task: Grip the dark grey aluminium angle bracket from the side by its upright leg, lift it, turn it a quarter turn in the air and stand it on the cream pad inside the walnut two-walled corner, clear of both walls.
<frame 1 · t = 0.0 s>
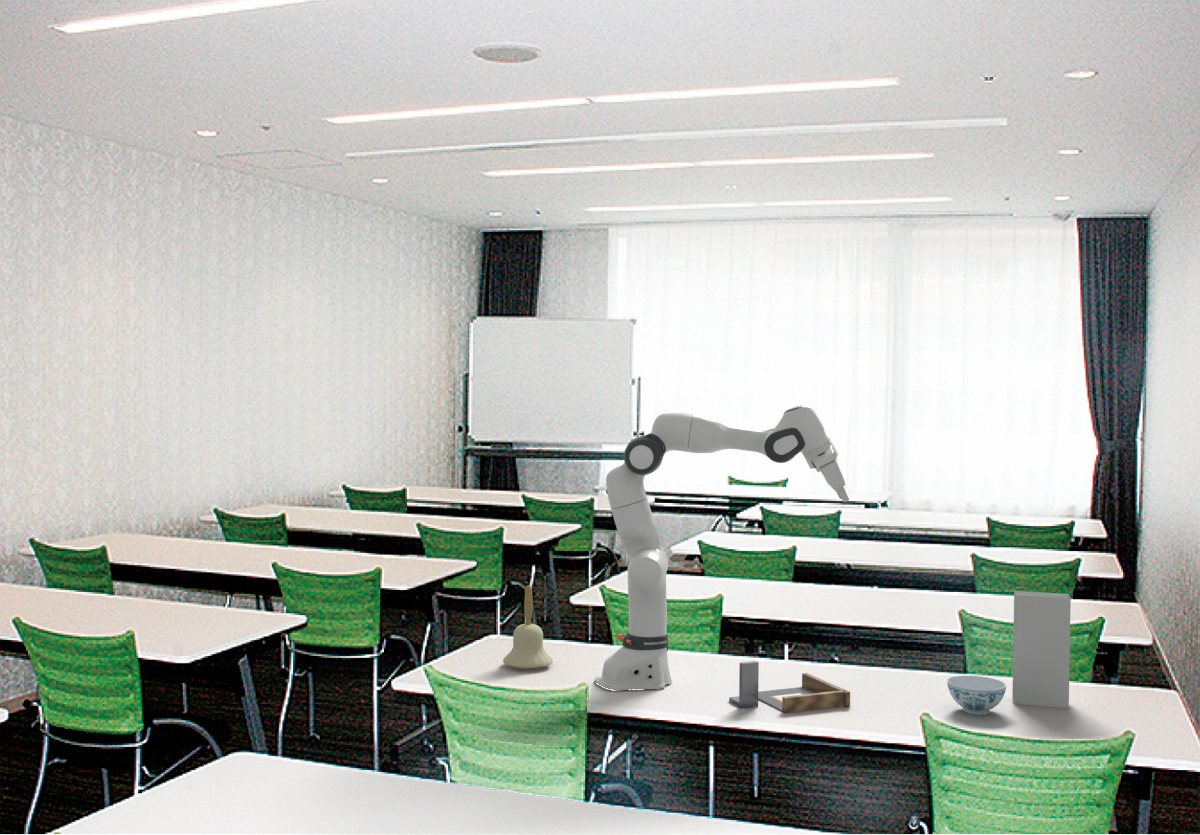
hand: (844, 499, 317), 54 cm above the table, tool tilted 30°, fingers open, 8 cm apart
bracket: (748, 706, 300), on the table
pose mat: (792, 699, 307), on the table
handbell: (527, 667, 342), on the table
tall grey block: (1040, 704, 306), on the table
chinaware: (976, 712, 297), on the table
brown wooden corner frame: (792, 699, 307), resting in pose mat
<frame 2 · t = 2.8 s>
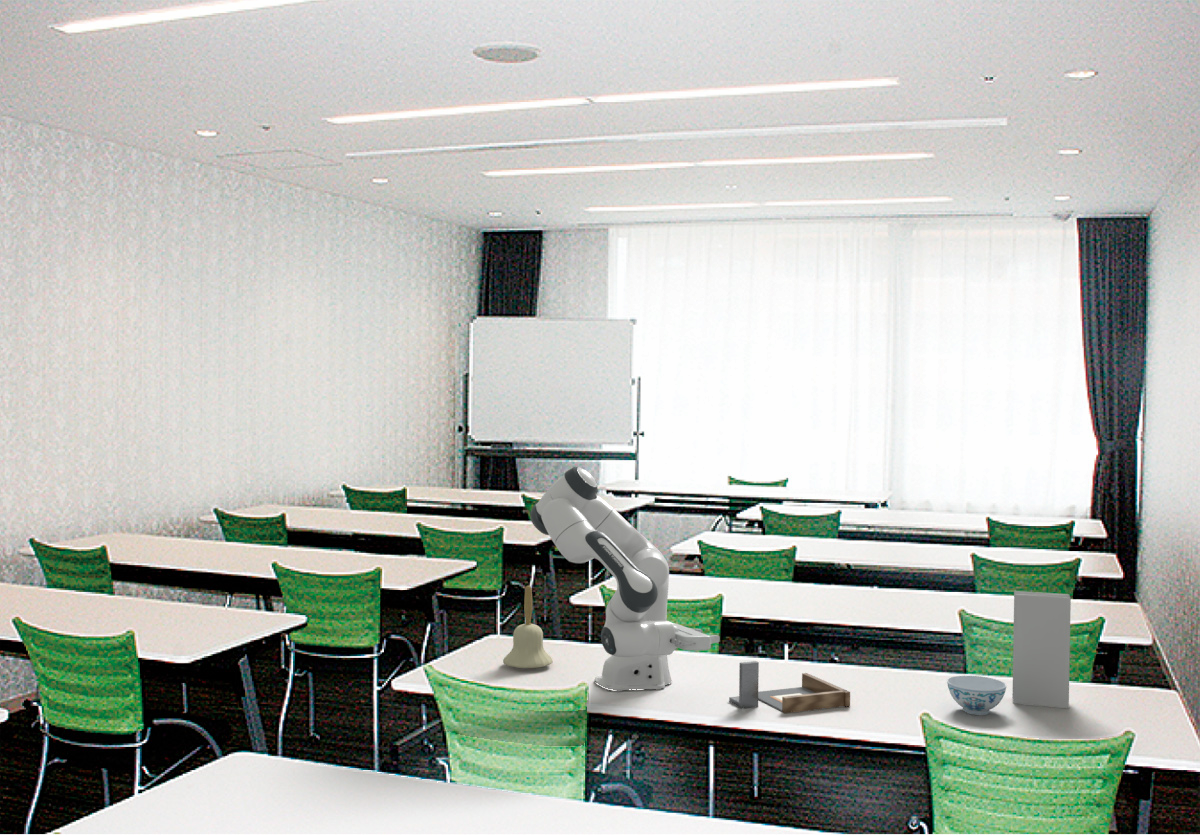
hand: (709, 635, 294), 20 cm above the table, tool horizontal, fingers open, 8 cm apart
nothing on the table moved.
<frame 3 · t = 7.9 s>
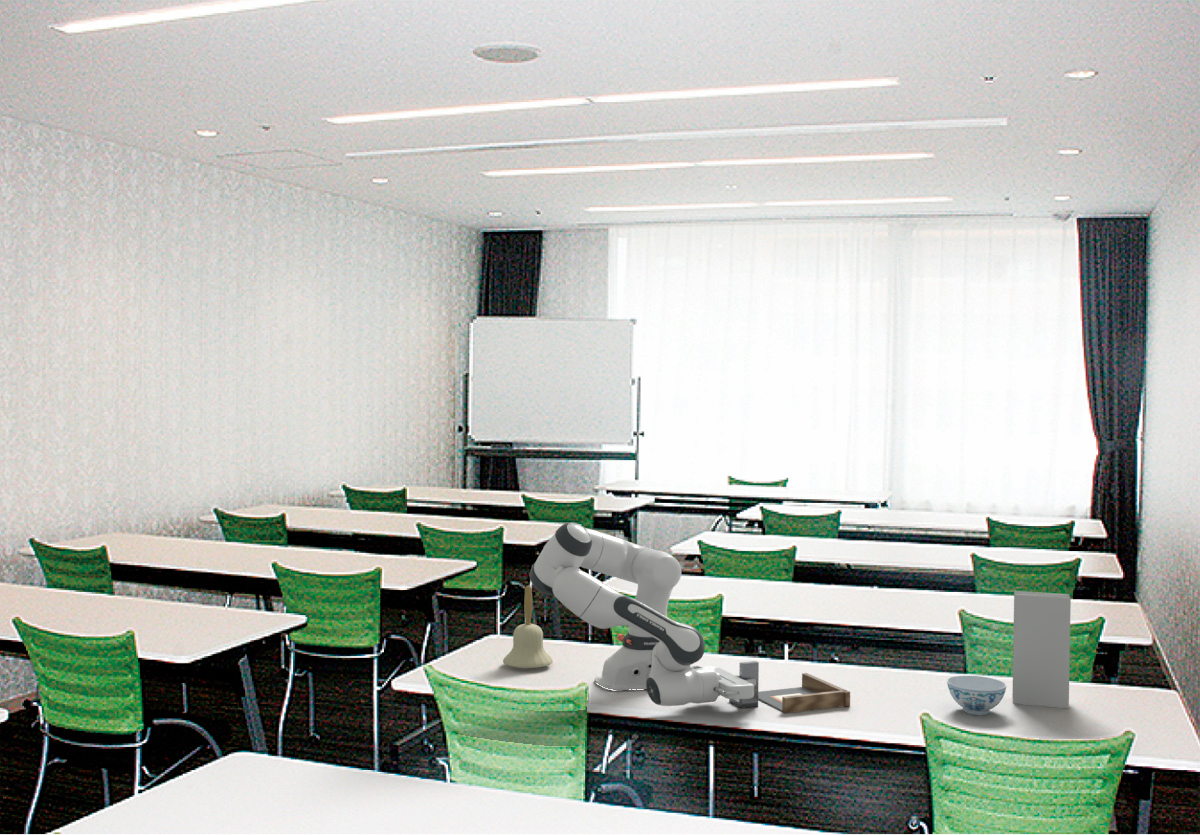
hand: (751, 680, 300), 7 cm above the table, tool horizontal, fingers closed on bracket
bracket: (748, 706, 300), on the table, touching gripper
everything else where it was.
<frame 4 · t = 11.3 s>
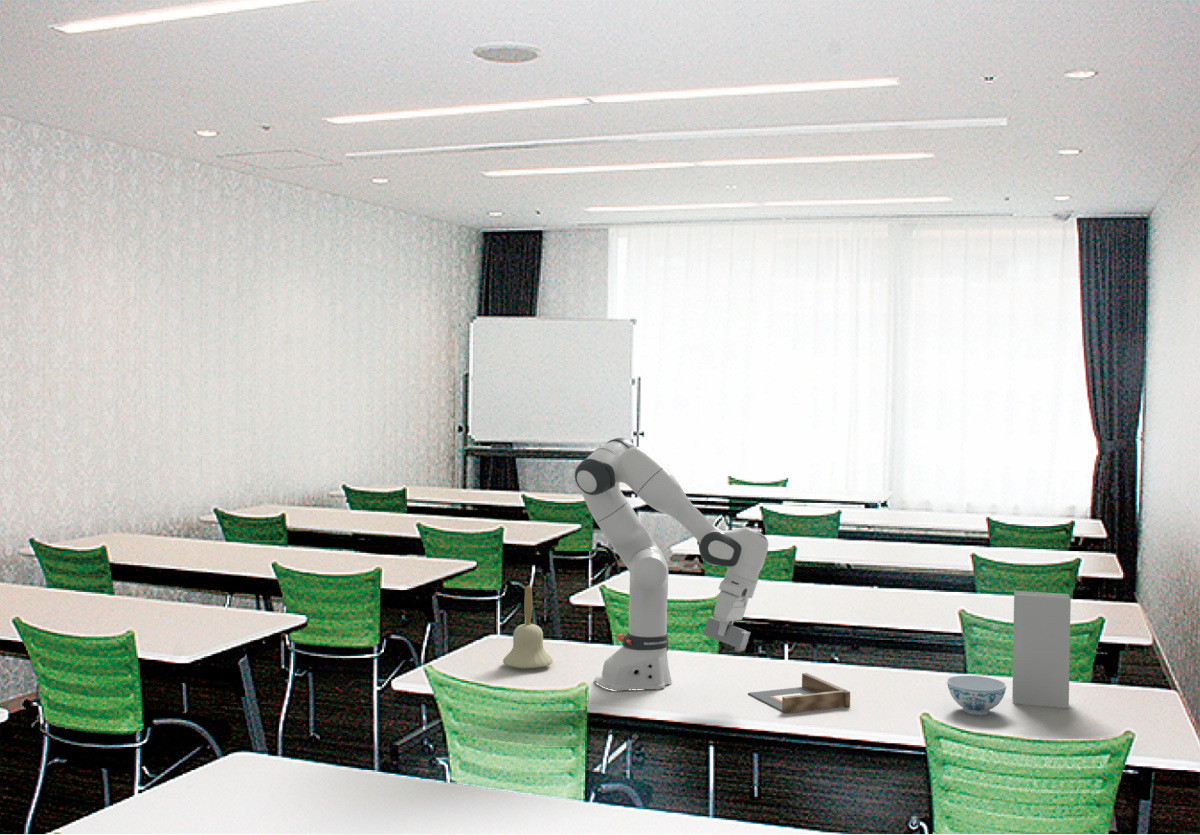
hand: (722, 635, 304), 18 cm above the table, tool tilted 20°, fingers closed on bracket
bracket: (747, 641, 301), point 17 cm above the table, tilted 74°, touching gripper
everything else where it was.
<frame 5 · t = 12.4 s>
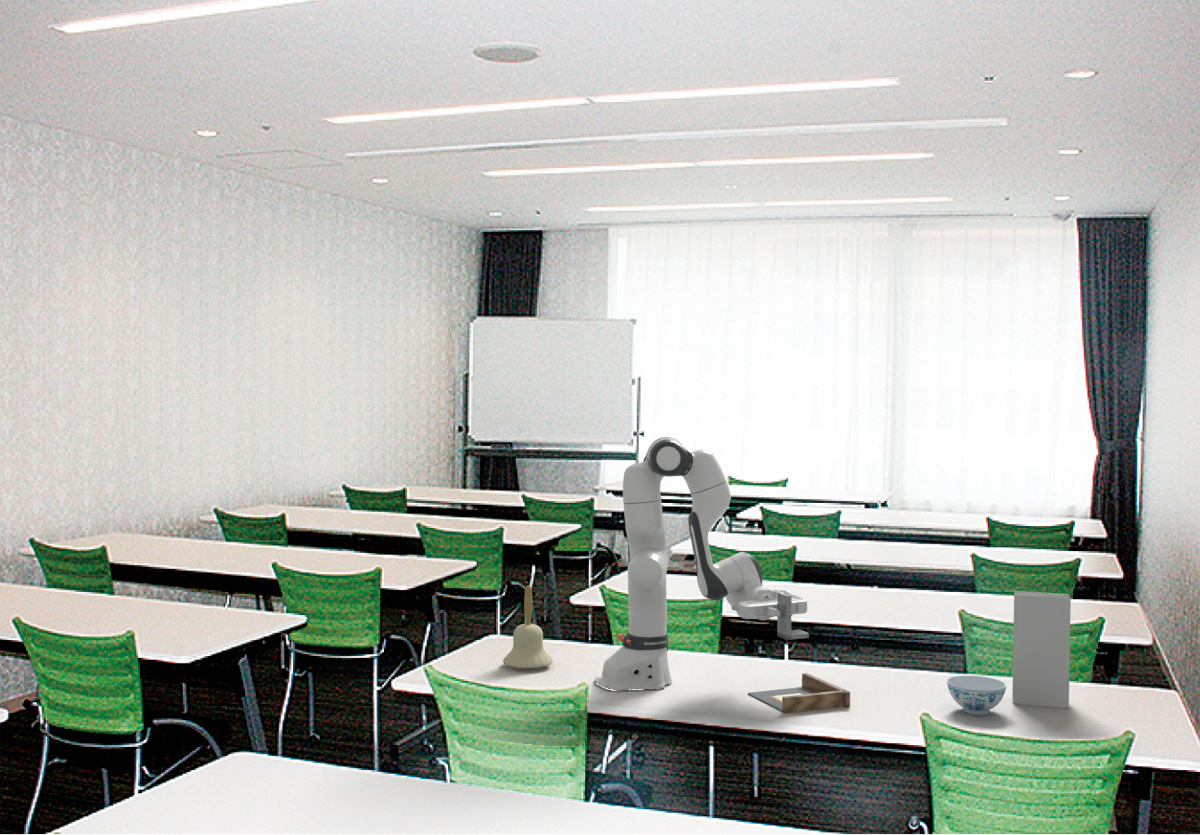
hand: (785, 613, 304), 24 cm above the table, tool horizontal, fingers closed on bracket
bracket: (784, 637, 305), point 17 cm above the table, touching gripper
everything else where it was.
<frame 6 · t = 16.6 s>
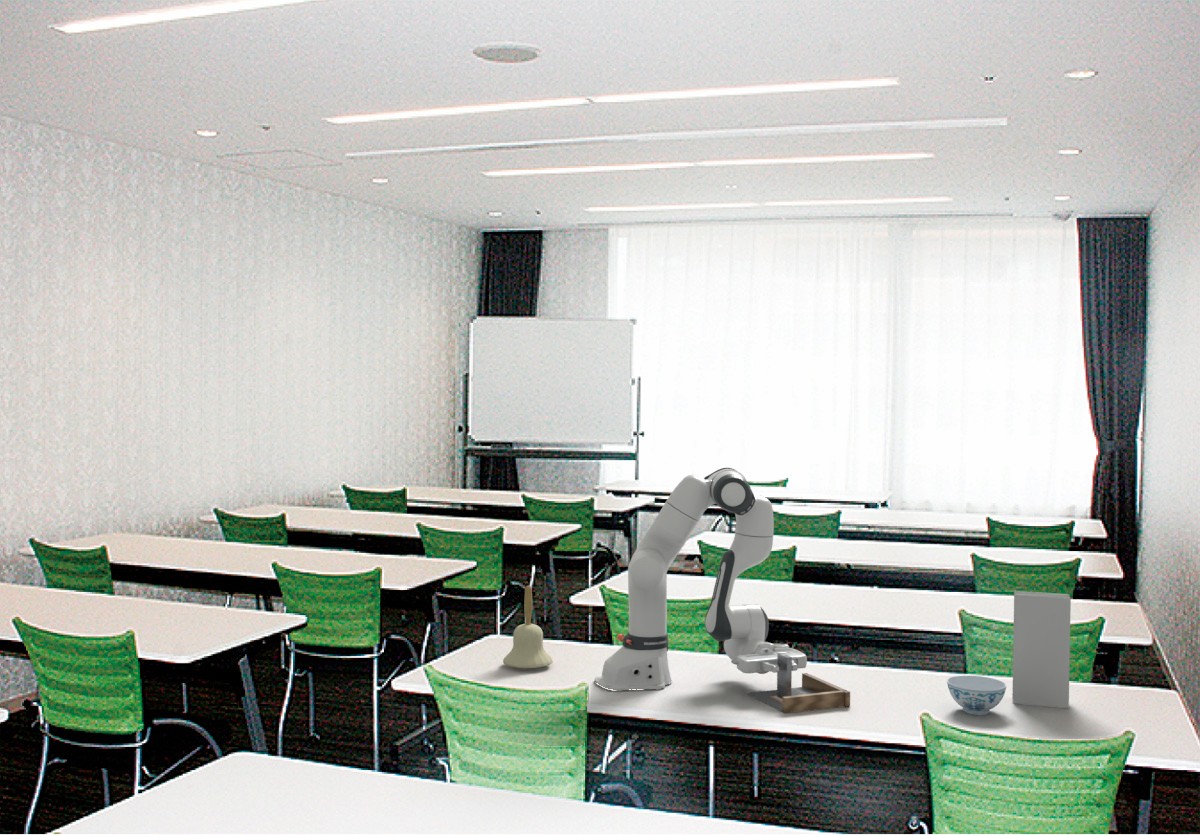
hand: (786, 668, 305), 9 cm above the table, tool horizontal, fingers open, 4 cm apart
bracket: (784, 698, 306), resting on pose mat
everything else where it was.
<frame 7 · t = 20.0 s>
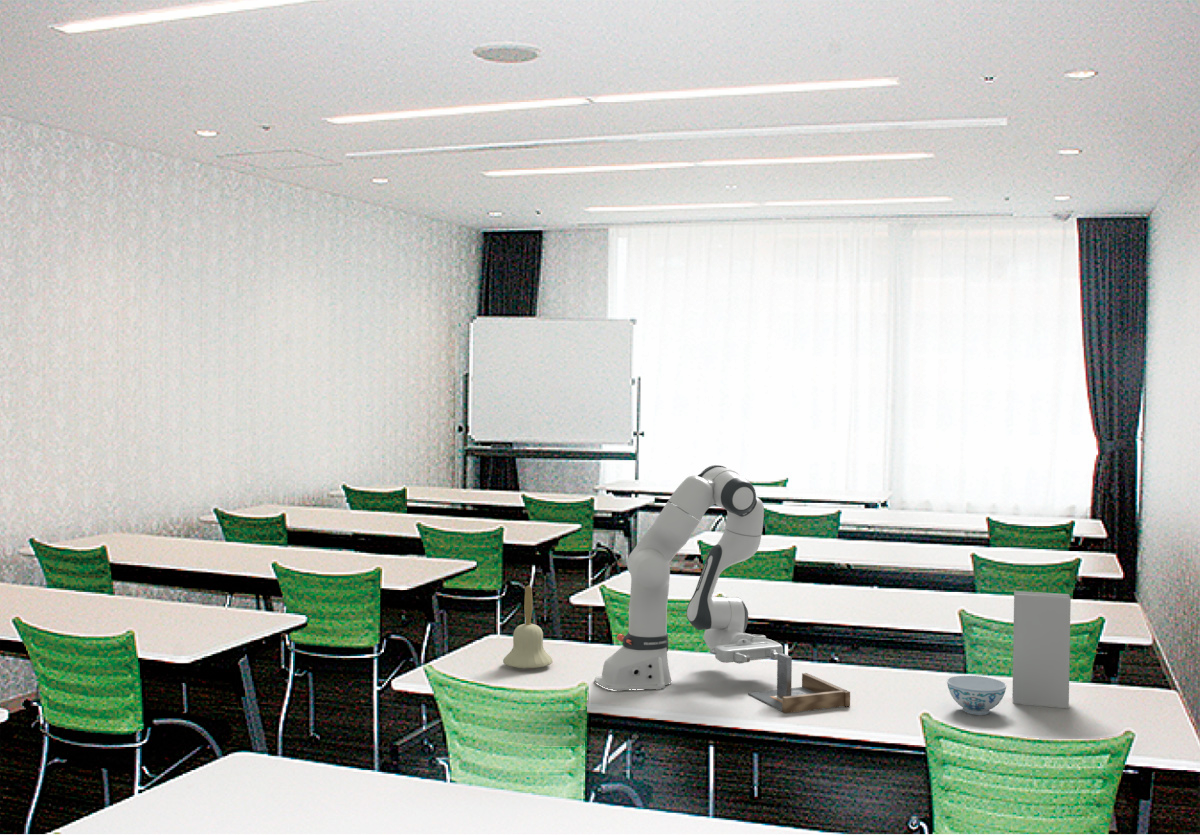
hand: (762, 658, 317), 9 cm above the table, tool horizontal, fingers open, 8 cm apart
nothing on the table moved.
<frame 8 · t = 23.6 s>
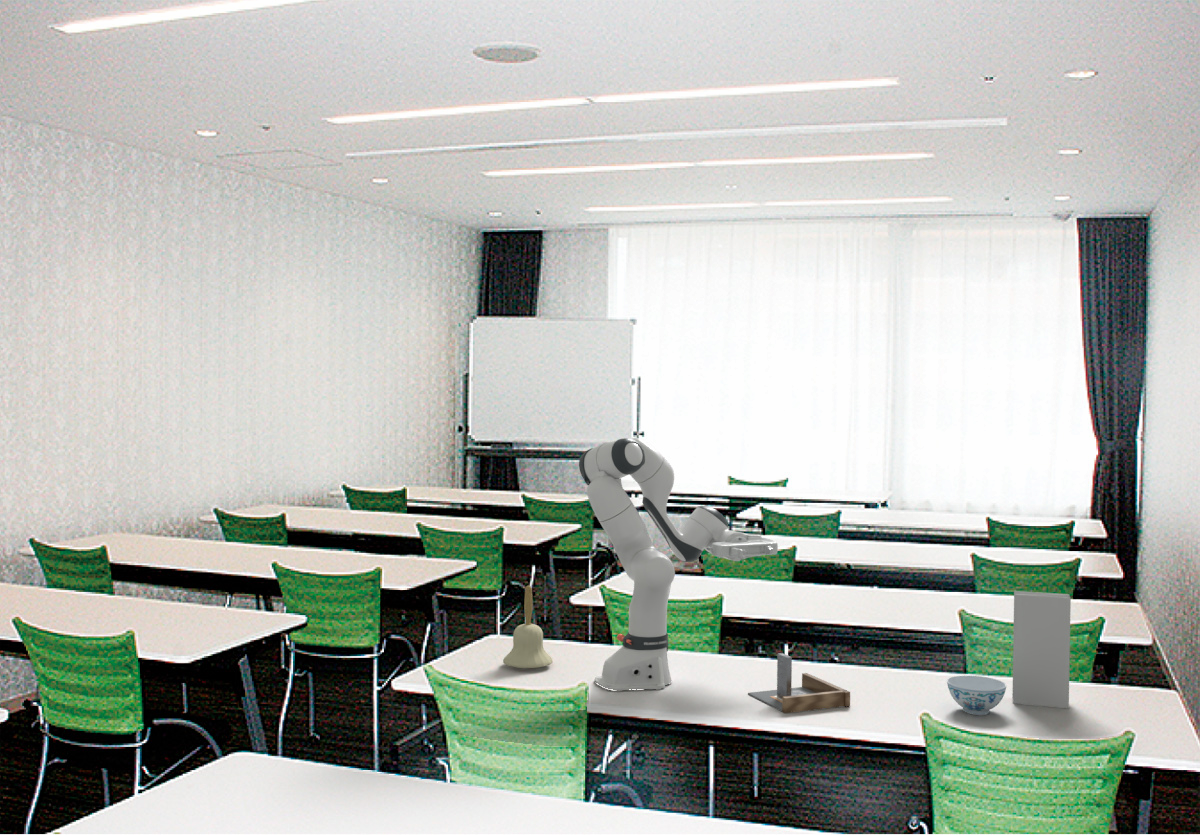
hand: (757, 552, 325), 38 cm above the table, tool horizontal, fingers open, 8 cm apart
nothing on the table moved.
at the end: bracket 0.1 cm from the target spot on the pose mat, point 0.5 cm above the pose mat's base; bracket tilted 0°; bracket touching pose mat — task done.
